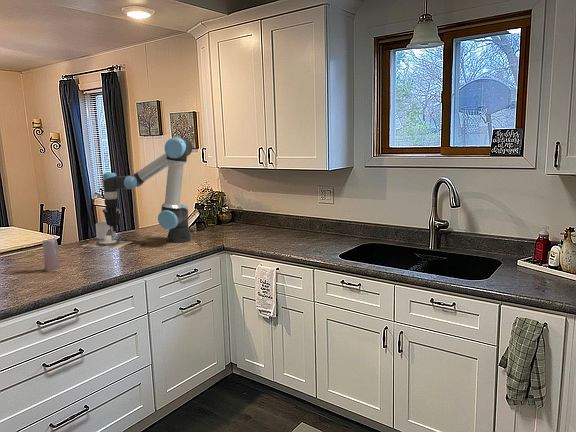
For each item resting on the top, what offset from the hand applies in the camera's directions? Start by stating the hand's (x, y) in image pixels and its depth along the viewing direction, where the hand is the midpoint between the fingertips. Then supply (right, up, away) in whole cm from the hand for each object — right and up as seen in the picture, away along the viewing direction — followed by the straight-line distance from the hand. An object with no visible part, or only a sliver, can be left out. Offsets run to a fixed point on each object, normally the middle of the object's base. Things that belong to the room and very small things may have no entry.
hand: (113, 236), depth 268 cm
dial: (-1, -4, -4) cm, 6 cm away
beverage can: (-7, -14, -57) cm, 59 cm away
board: (-1, -5, -6) cm, 8 cm away
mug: (-10, -2, +12) cm, 16 cm away
